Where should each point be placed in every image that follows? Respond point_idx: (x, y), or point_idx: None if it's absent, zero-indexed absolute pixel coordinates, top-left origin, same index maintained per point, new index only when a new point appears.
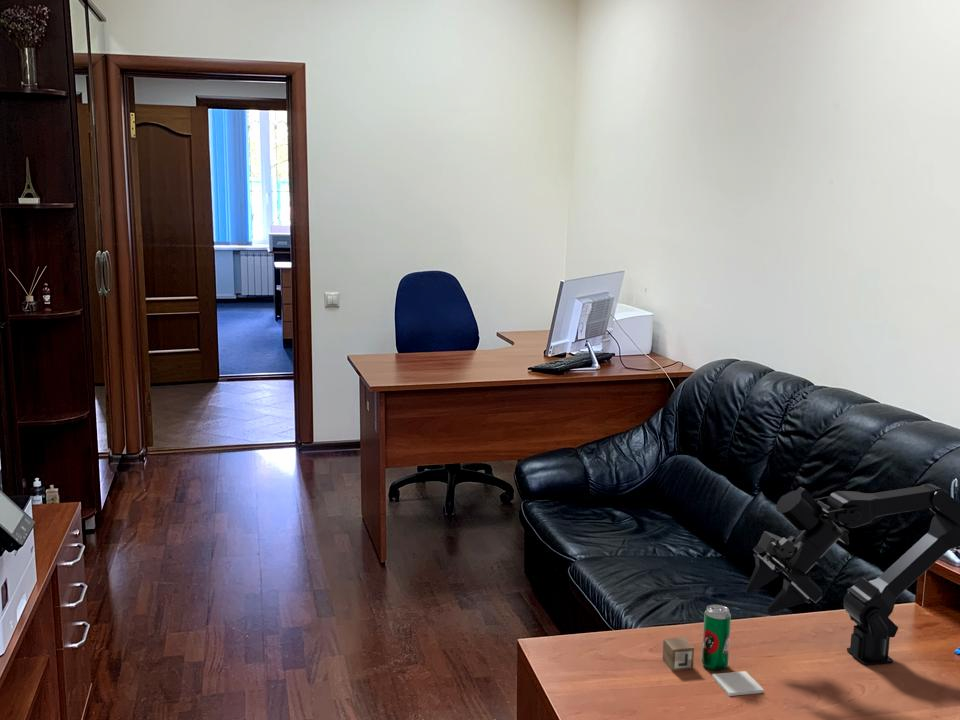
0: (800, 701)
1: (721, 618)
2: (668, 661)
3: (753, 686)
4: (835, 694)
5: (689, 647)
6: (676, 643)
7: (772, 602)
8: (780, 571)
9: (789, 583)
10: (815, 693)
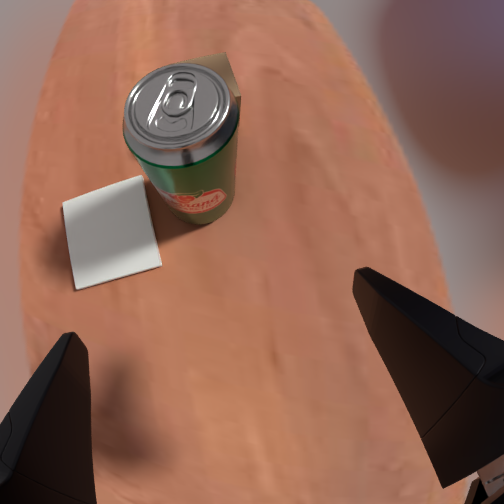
0: None
1: (124, 121)
2: None
3: (86, 267)
4: (102, 448)
5: None
6: None
7: (43, 373)
8: (466, 500)
9: None
10: (95, 410)
